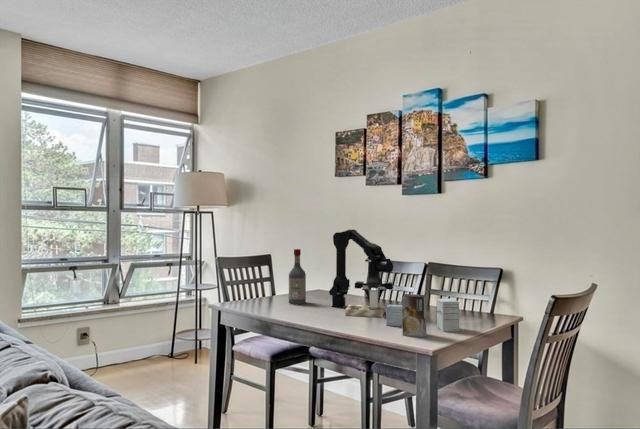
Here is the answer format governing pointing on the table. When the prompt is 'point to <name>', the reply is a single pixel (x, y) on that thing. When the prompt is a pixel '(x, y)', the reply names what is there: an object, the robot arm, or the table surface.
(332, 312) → the table surface
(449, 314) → the supplement box
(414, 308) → the coffee box
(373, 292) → the white squarish block
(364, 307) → the socket block
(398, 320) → the medicine box
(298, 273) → the liquor
